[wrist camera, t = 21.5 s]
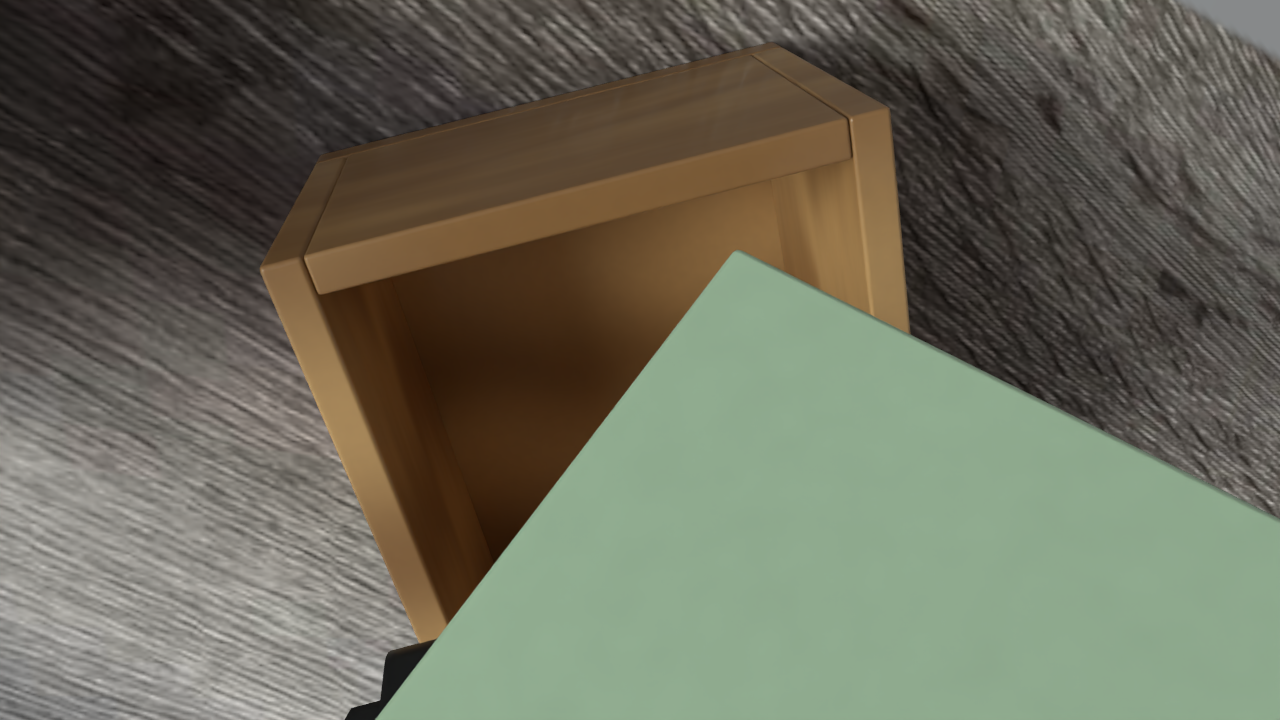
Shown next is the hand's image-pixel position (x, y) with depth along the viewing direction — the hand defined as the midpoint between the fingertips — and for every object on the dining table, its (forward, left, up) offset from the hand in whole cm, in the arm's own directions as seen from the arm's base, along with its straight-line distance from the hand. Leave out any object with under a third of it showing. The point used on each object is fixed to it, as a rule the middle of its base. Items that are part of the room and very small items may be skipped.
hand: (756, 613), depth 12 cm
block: (0, +1, +2) cm, 2 cm away
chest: (+3, +3, -16) cm, 16 cm away
